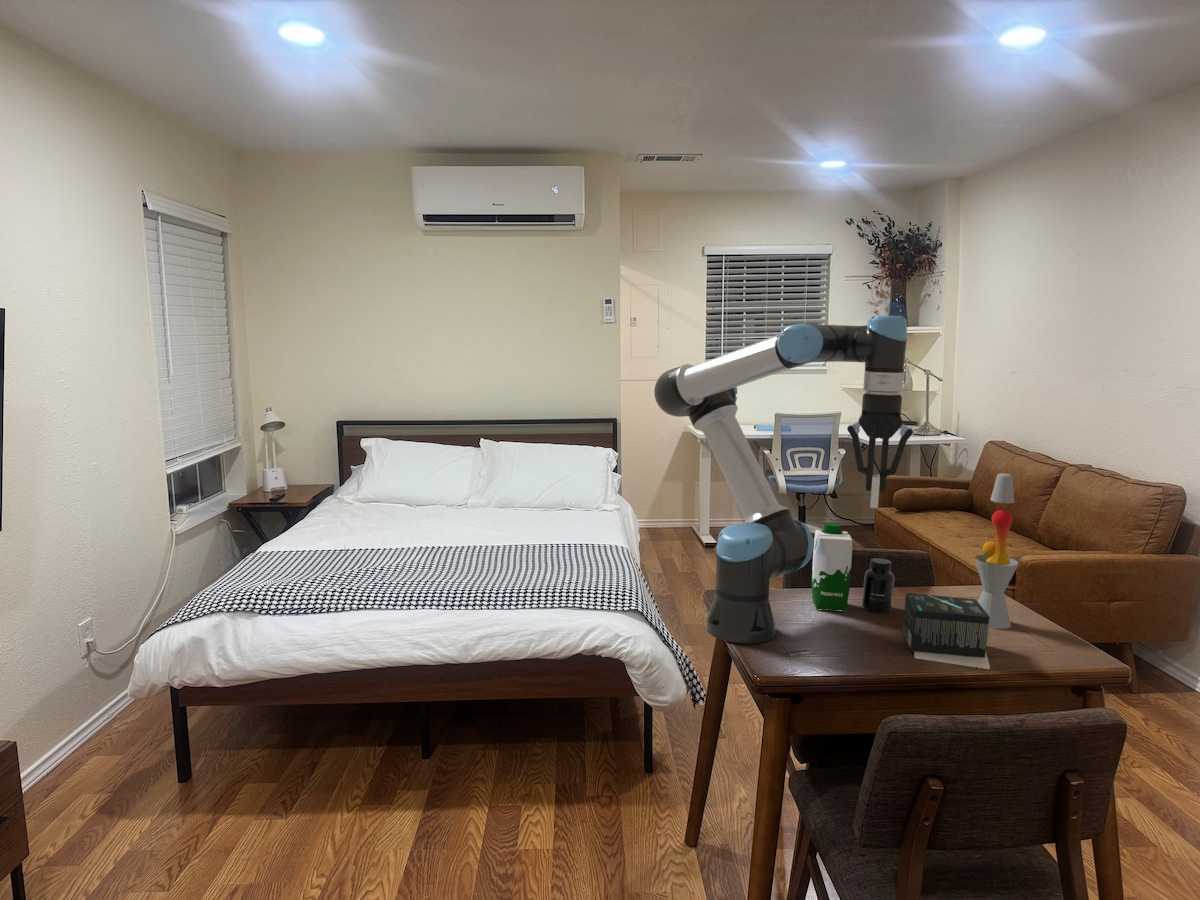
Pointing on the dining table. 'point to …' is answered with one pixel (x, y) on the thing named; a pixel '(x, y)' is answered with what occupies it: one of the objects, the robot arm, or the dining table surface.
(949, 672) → the dining table surface
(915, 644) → the tampon box
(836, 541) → the milk carton
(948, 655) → the mat
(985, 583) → the lava lamp
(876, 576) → the supplement bottle
